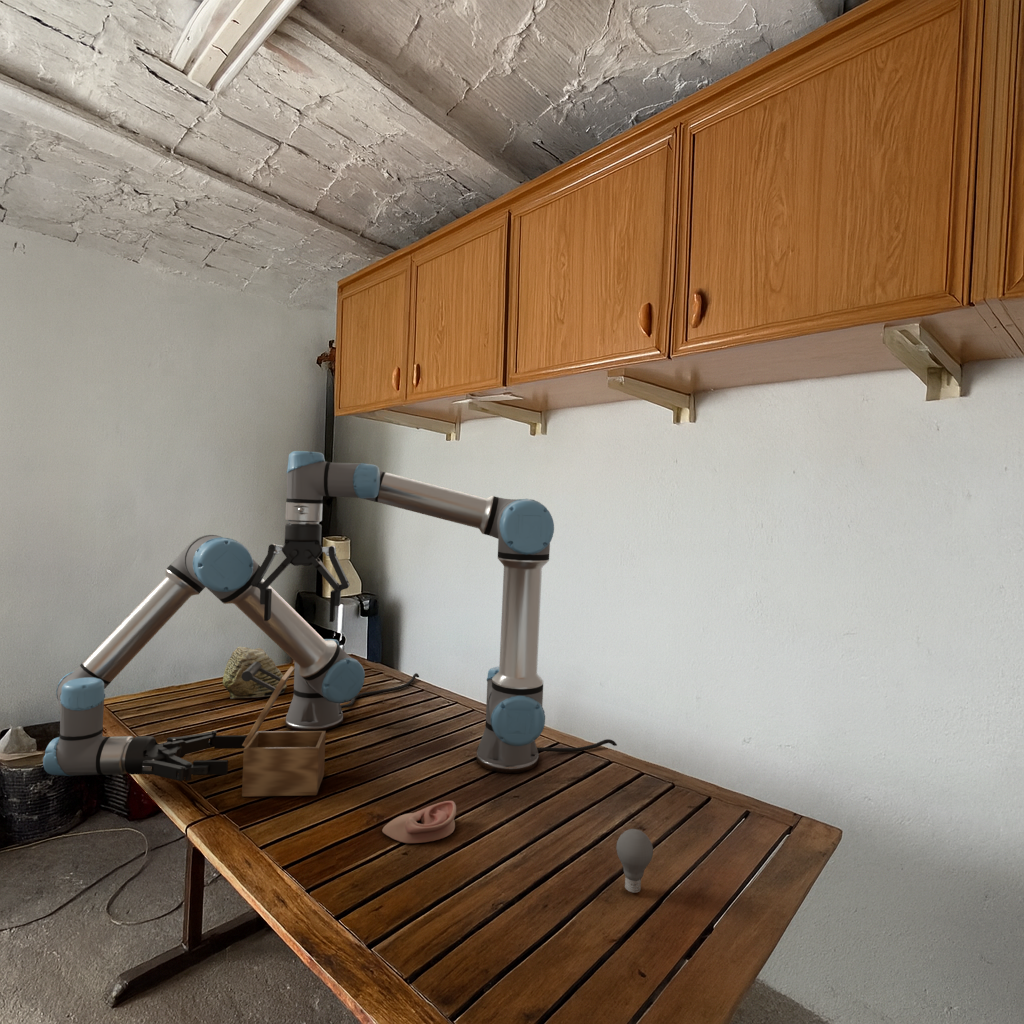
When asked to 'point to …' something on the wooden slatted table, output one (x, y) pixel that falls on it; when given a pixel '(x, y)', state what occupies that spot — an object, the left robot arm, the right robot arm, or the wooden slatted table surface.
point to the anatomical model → (423, 824)
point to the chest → (284, 763)
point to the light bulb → (634, 857)
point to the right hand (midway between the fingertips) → (299, 620)
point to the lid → (250, 675)
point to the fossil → (249, 689)
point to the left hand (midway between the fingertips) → (237, 753)
